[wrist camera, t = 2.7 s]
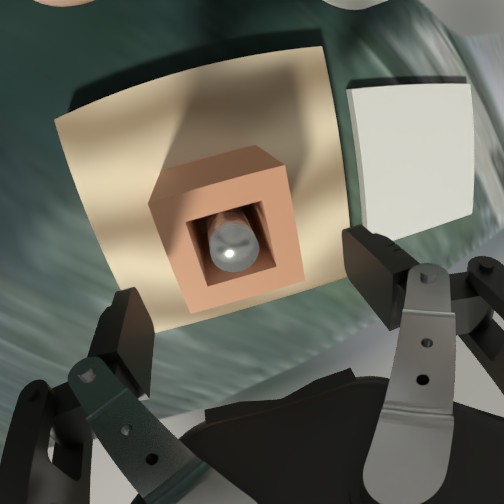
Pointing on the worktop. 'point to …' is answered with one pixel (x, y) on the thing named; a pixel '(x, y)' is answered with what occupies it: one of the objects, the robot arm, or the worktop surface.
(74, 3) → the decorative fruit
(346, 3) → the cylindrical container
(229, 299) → the collar
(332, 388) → the robot arm
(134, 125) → the stand base
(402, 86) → the pad
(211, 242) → the post
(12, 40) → the worktop surface
